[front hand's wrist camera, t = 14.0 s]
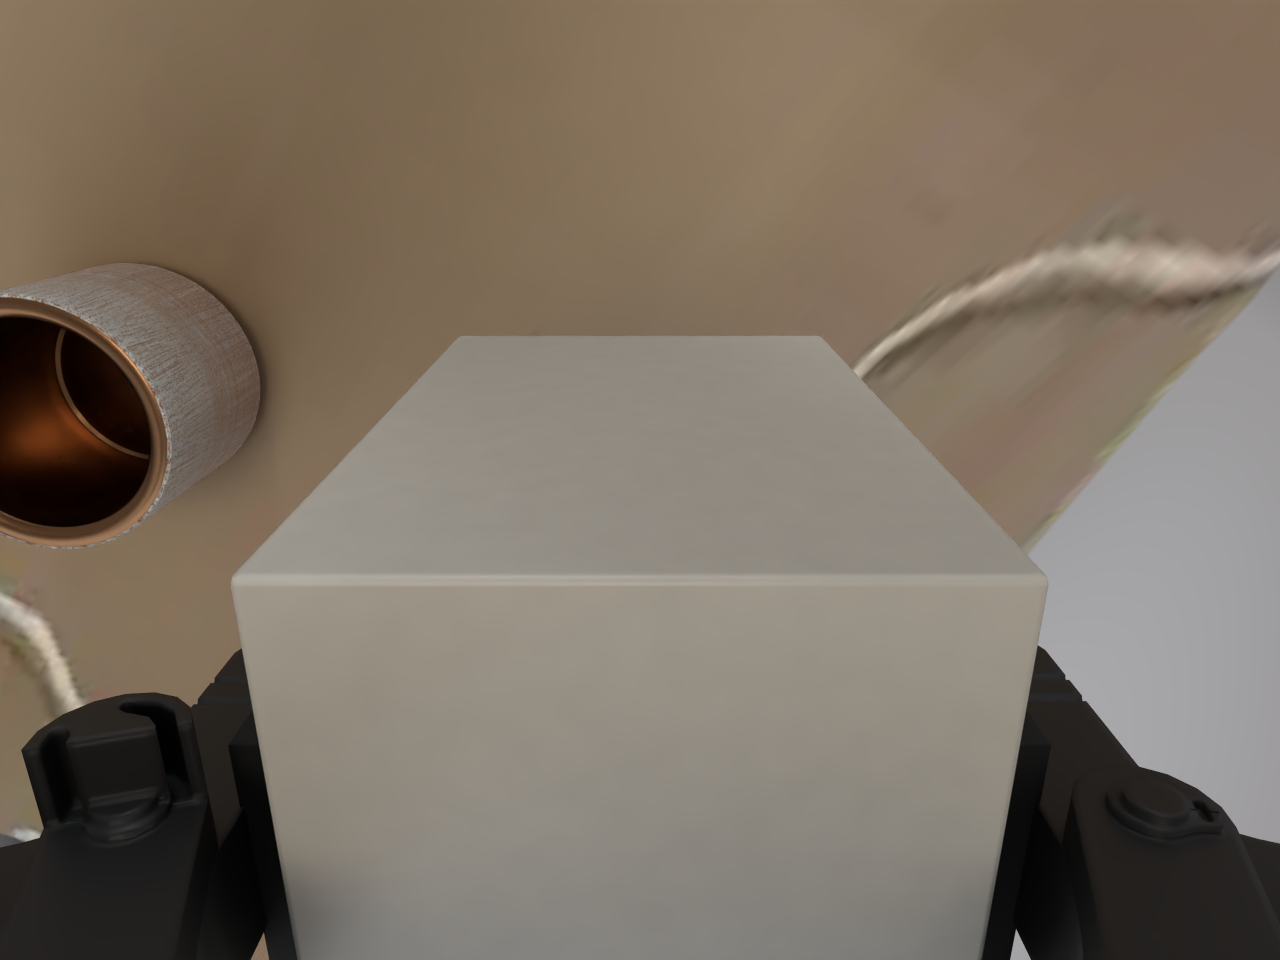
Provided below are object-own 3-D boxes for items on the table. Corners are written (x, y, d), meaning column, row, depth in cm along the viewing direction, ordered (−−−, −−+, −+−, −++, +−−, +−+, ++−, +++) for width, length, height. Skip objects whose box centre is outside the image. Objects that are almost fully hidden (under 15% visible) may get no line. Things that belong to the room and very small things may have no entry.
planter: (50, 232, 42) (-109, 256, 33) (280, 295, 43) (185, 335, 34) (39, 443, 46) (-107, 515, 37) (252, 496, 47) (160, 580, 38)
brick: (821, 334, 14) (1055, 576, 6) (794, 715, 17) (936, 1236, 9) (456, 334, 14) (225, 576, 6) (484, 715, 17) (343, 1236, 9)
